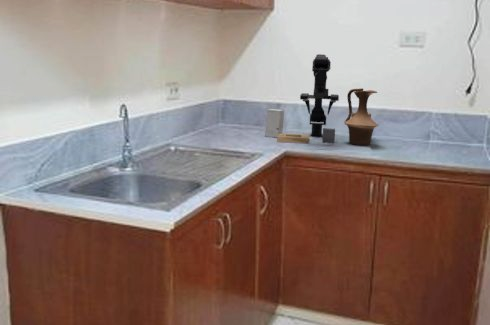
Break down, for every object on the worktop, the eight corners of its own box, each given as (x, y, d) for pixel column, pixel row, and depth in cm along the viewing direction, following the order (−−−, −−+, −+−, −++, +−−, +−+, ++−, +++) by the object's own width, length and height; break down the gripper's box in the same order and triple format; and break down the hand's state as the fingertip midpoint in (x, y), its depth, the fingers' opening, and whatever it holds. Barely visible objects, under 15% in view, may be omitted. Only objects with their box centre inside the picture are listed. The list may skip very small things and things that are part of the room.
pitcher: (337, 143, 253) (340, 87, 248) (348, 140, 268) (351, 87, 263) (371, 147, 244) (375, 89, 240) (381, 143, 259) (385, 89, 254)
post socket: (278, 138, 269) (279, 133, 269) (308, 139, 267) (309, 134, 267) (277, 141, 255) (277, 137, 255) (308, 143, 253) (308, 138, 253)
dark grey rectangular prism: (322, 141, 261) (323, 128, 260) (334, 142, 260) (334, 128, 259) (322, 142, 257) (323, 129, 256) (334, 143, 257) (335, 129, 255)
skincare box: (264, 136, 274) (265, 109, 271) (269, 135, 279) (270, 108, 276) (278, 137, 270) (280, 110, 267) (283, 136, 275) (284, 109, 272)
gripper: (300, 82, 241) (298, 115, 244) (339, 84, 237) (337, 117, 241) (301, 82, 251) (300, 113, 255) (339, 83, 248) (337, 114, 251)
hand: (318, 114), depth 250 cm, fingers open, 9 cm apart
